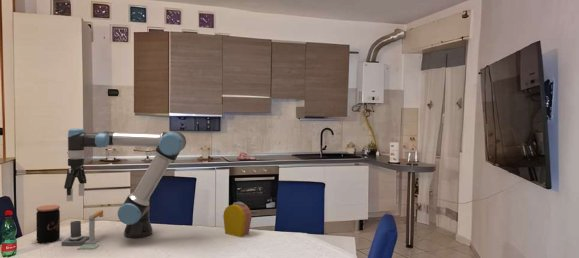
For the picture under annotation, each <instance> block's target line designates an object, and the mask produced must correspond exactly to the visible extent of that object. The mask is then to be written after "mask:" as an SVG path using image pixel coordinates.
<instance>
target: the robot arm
mask: <svg viewBox="0 0 579 258" xmlns="http://www.w3.org/2000/svg"><path fill="white" fill-rule="evenodd" d="M186 145H187V138H186V136H185V135H184V133H181V132H179V131H169V132H161V133H146V132H145V133H144V132H141V133H140V132H120V131H119V132H118V131H117V132H116V131H115V132H114V131H107V130H106V131H101V132H85V129H84V128H69V129H68V132H67V158H68V159H67V166H68V167H70V168H67V170H66V172H67V173H66V177H65V182H64V187H63V189H66V202H73V201H74V200H73V199H74V198H73V197H74V188H73V186H74V184H75V180H76V178H77V181H78V197H81V196H82V197H83V196H85V184H87V177H86V172H85V166H84V165H85V148H99V149H100V148H107V147H109V146H111V147H112V146H118V147H119V146H121V147H122V146H123V147H141V148H142V147H144V148H155V150H154V151H155V155H154V157H153V159H152V161H151V162H150V164H149V166H148V168H147V169H146V171H145V173H144V174H143V175H142V177H141V179H140V181H139V183H138V185H137V186H136V188H135V190H134V191H133V192H132V193H129V194H128V195H127V197H126V198H125V200H124V201H123V204H121V205H120V206H119V208H118V209H117V218H118V220H119V221H120V222H121V223H123V224H124V225H126V226H125V228H124V231H123V236H124V237H125V238H127V239H128V238H129V239H139V238H140V239H141V238H146V237H149V236H151V235H153V232H154V231H153V230H154V229H153V226H152V223H151V221H150V203H151V202H150V201H151V198H150V197H151V196H152V194H153V193H154V191H155V189H156V188H157V186H158V184H160V183H159V182H160V180H161V179H162V178H163V176H164V174H165V172H166V171H167V169H168V167H169V165H170V164H171V163H172V162H175V161H176V159H177V158H178V156H179V154H180V153H181V151H182V150H184V149H185V147H186Z"/></svg>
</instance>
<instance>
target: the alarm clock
mask: <svg viewBox="0 0 579 258" xmlns="http://www.w3.org/2000/svg"><path fill="white" fill-rule="evenodd" d="M222 217H223V225H224V227H223V228H224V233H225V235H229V236H233V237H237V238H242V237H246V236H248V235H249V234H250V229H251V228H250V227H251V222H252V217H253V216H252V211H251V209H250V208H249V207H248V205H246V203H244V202H241V201H236V202H235V201H234V202H233V203H232V204H231V205H228V206H227V207H225V209H224V211H223V215H222Z"/></svg>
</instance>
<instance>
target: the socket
mask: <svg viewBox="0 0 579 258" xmlns="http://www.w3.org/2000/svg"><path fill="white" fill-rule="evenodd" d="M95 222H96V220H88V228H89V229H88V235H82V238H81V240H80V241H71V239H70V236H69V237H67V238H66V239H64V240H62V241H61V247H80V246H82V245H83V244H97V243H98V241H99V240H98V239H95V235H96V233H95V231H96V229H95V228H96V227H95V226H96V225H95V224H96V223H95Z"/></svg>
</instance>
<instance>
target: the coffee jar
mask: <svg viewBox="0 0 579 258" xmlns="http://www.w3.org/2000/svg"><path fill="white" fill-rule="evenodd" d="M60 213H61V211H60V205H57V204H49V205H40V206H38V207H36V225H35V226H36V227H35V228H36V242H37V243H39V244H52V243H54V242H57V241H58V240H59V239H60V238H61V235H60V234H61V232H60V231H61V217H60V216H61V214H60Z"/></svg>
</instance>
